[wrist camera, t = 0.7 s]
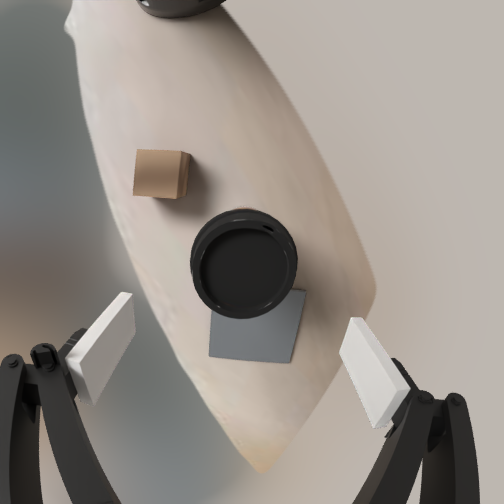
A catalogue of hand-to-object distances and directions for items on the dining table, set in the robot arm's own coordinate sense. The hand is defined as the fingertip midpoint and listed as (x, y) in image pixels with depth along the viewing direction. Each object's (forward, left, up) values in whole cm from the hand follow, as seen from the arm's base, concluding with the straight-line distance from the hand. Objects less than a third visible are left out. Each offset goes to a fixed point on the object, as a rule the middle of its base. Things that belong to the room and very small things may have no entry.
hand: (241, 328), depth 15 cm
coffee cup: (-2, 0, -19) cm, 19 cm away
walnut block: (-8, -10, -19) cm, 23 cm away
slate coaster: (+11, +3, -19) cm, 22 cm away
